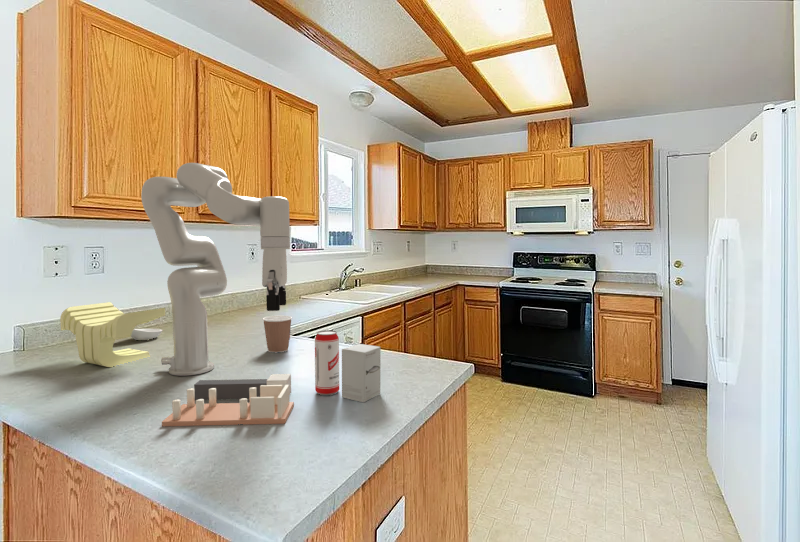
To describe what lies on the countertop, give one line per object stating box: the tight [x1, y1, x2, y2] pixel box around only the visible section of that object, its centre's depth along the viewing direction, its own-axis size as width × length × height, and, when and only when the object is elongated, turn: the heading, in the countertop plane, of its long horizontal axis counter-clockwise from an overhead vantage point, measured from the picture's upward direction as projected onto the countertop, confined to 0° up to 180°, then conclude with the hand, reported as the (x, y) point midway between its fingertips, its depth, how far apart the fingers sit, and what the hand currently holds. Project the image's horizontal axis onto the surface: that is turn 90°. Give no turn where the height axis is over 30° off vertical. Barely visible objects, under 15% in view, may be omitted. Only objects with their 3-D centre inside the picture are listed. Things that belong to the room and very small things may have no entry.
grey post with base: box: [193, 373, 292, 401], centre depth 109 cm, size 23×5×5 cm, turn 93°
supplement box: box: [341, 343, 382, 404], centre depth 109 cm, size 7×7×13 cm
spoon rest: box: [130, 328, 163, 341], centre depth 169 cm, size 24×12×7 cm, turn 154°
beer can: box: [314, 329, 340, 396], centre depth 112 cm, size 6×6×16 cm
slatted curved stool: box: [59, 301, 166, 368], centre depth 141 cm, size 30×16×18 cm, turn 64°
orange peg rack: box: [161, 385, 295, 427], centre depth 97 cm, size 26×10×6 cm, turn 93°
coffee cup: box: [262, 315, 293, 354], centre depth 155 cm, size 10×10×12 cm
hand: (276, 307), depth 115 cm, fingers open, 9 cm apart
